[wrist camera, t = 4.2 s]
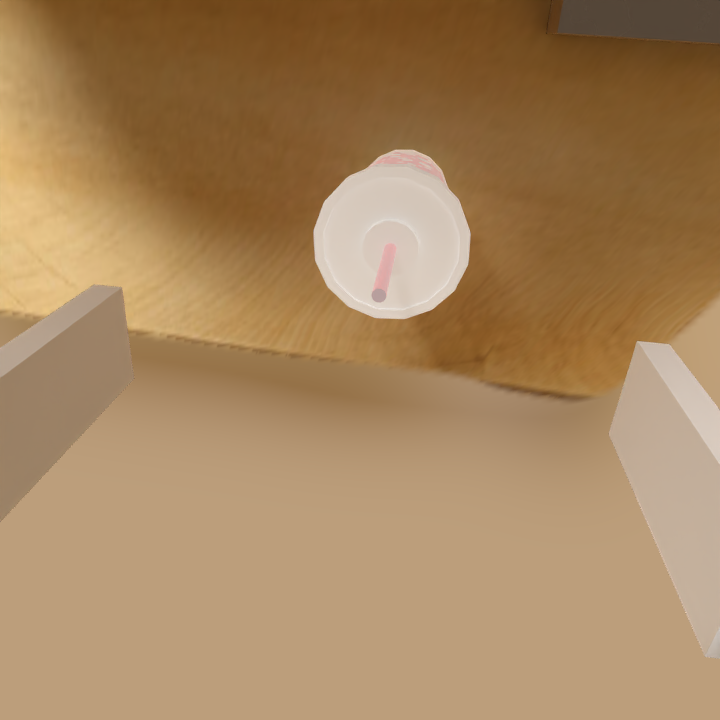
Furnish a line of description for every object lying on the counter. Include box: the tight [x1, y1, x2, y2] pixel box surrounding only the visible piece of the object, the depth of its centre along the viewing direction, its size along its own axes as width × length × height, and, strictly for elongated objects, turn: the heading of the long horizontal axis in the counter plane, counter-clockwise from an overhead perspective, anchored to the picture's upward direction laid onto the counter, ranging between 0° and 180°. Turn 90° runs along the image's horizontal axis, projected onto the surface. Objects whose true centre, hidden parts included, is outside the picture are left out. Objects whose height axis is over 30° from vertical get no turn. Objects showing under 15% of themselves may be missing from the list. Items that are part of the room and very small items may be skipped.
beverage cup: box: [314, 150, 471, 319], centre depth 25 cm, size 6×6×14 cm
